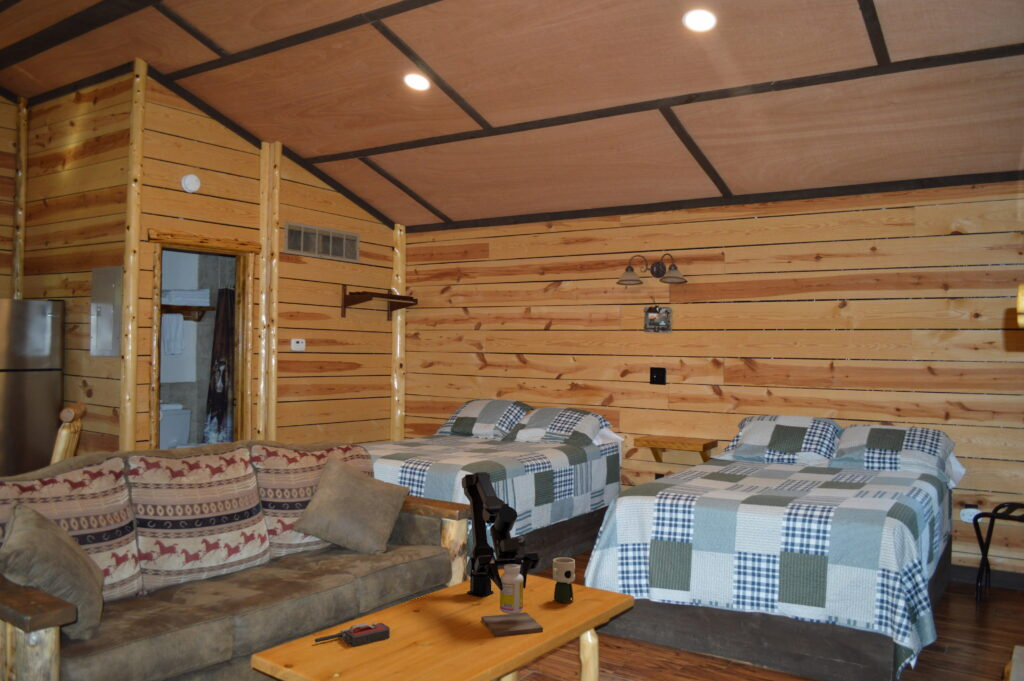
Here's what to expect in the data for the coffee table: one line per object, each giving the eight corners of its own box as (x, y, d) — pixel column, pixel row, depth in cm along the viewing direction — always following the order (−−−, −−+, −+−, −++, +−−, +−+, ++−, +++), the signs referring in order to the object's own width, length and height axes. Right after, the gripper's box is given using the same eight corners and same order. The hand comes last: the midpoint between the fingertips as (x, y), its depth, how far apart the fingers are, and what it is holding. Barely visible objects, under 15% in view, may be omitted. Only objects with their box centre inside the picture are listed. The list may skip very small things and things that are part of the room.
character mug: (562, 607, 247) (562, 565, 247) (544, 602, 252) (544, 561, 252) (582, 599, 255) (583, 558, 256) (564, 595, 260) (565, 555, 260)
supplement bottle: (517, 606, 234) (518, 562, 234) (526, 613, 228) (527, 568, 228) (495, 608, 231) (497, 563, 232) (504, 615, 225) (506, 569, 225)
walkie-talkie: (379, 629, 226) (313, 644, 214) (379, 614, 226) (313, 628, 214) (394, 638, 219) (326, 654, 207) (395, 622, 219) (327, 637, 207)
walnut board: (481, 620, 234) (481, 616, 234) (526, 616, 238) (526, 612, 238) (495, 636, 221) (495, 632, 221) (542, 631, 225) (542, 627, 225)
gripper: (477, 528, 231) (487, 577, 220) (538, 524, 237) (551, 572, 226) (470, 548, 238) (479, 596, 228) (529, 544, 244) (541, 591, 233)
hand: (513, 588), depth 228 cm, fingers closed on supplement bottle, 7 cm apart
